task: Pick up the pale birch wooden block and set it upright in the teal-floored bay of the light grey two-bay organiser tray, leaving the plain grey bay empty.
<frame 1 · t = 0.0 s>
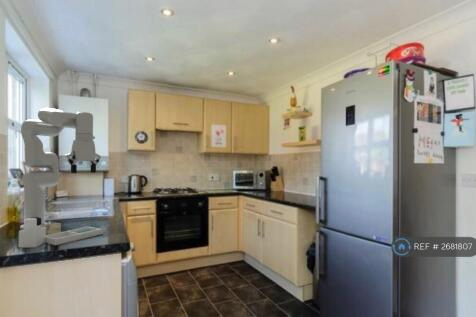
hand: (83, 172, 136), 31 cm above the countertop, tool pointing down, fingers open, 9 cm apart
wooden block: (52, 236, 137), on the countertop
organiser tray: (73, 237, 134), on the countertop
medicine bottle: (32, 245, 122), on the countertop
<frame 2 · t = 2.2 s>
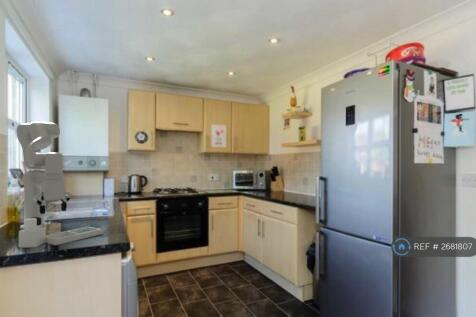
hand: (53, 212, 137), 12 cm above the countertop, tool pointing down, fingers open, 9 cm apart
nothing on the countertop moved.
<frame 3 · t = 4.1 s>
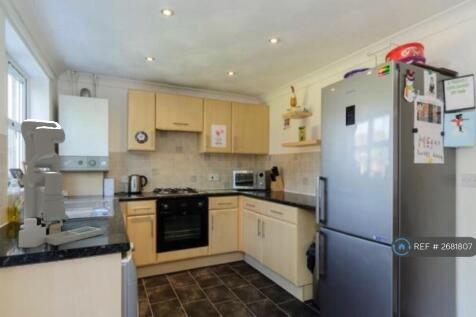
hand: (52, 234, 137), 1 cm above the countertop, tool pointing down, fingers closed on wooden block, 5 cm apart
wooden block: (52, 235, 137), on the countertop, touching gripper
everything else where it was.
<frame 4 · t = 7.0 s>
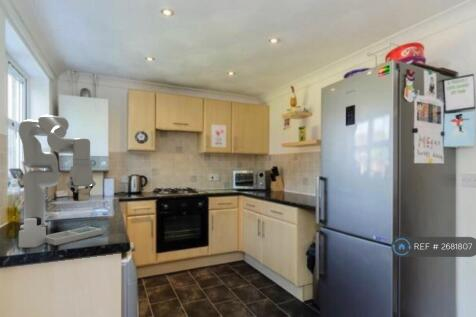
hand: (81, 199, 139), 18 cm above the countertop, tool pointing down, fingers closed on wooden block, 5 cm apart
wooden block: (81, 200, 139), point 17 cm above the countertop, touching gripper
everything else where it was.
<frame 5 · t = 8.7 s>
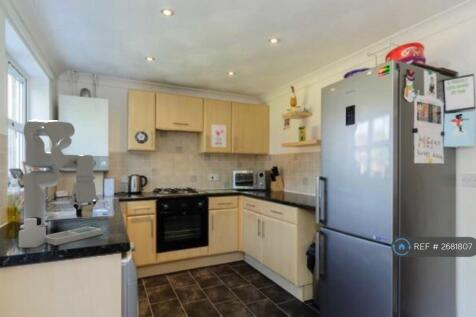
hand: (84, 215, 139), 10 cm above the countertop, tool pointing down, fingers closed on wooden block, 5 cm apart
wooden block: (84, 217, 139), point 9 cm above the countertop, touching gripper
everything else where it was.
when the fingers open (3 cm above the countertop, at t = 10.3 s): wooden block drops 2 cm, resting on organiser tray.
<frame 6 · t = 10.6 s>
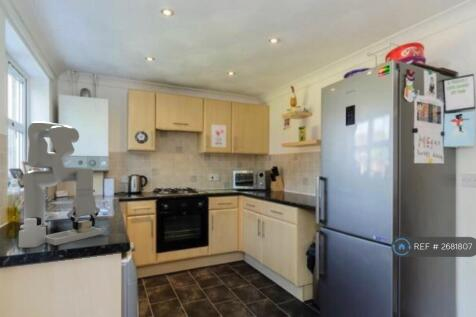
hand: (84, 227, 139), 4 cm above the countertop, tool pointing down, fingers open, 8 cm apart
wooden block: (83, 233, 139), point 1 cm above the countertop, touching organiser tray
everything else where it was.
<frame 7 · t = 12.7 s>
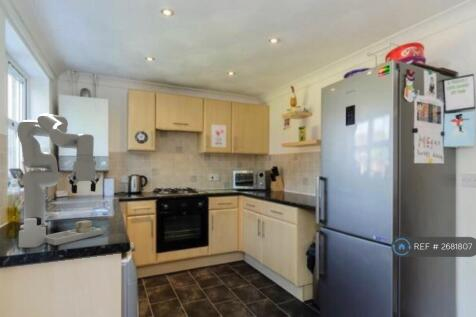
hand: (83, 192, 142), 21 cm above the countertop, tool pointing down, fingers open, 9 cm apart
nothing on the countertop moved.
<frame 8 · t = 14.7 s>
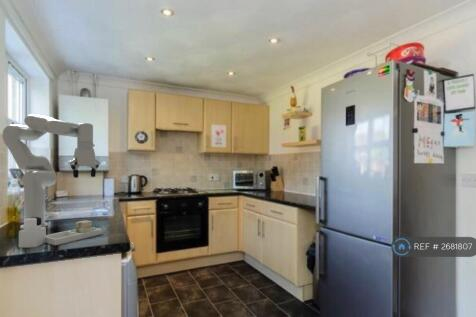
hand: (84, 177, 152), 28 cm above the countertop, tool pointing down, fingers open, 9 cm apart
nothing on the countertop moved.
at the end: wooden block 0.0 cm from the target spot on the organiser tray, point 0.7 cm above the organiser tray's base; wooden block tilted 0°; the gripper is holding nothing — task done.
